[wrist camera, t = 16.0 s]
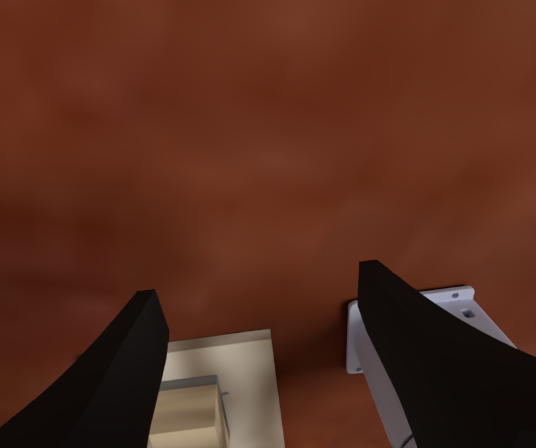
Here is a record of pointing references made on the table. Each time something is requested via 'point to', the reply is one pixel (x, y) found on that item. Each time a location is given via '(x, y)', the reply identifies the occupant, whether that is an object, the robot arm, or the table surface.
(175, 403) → the block
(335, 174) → the table surface
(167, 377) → the birch board
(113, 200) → the table surface
